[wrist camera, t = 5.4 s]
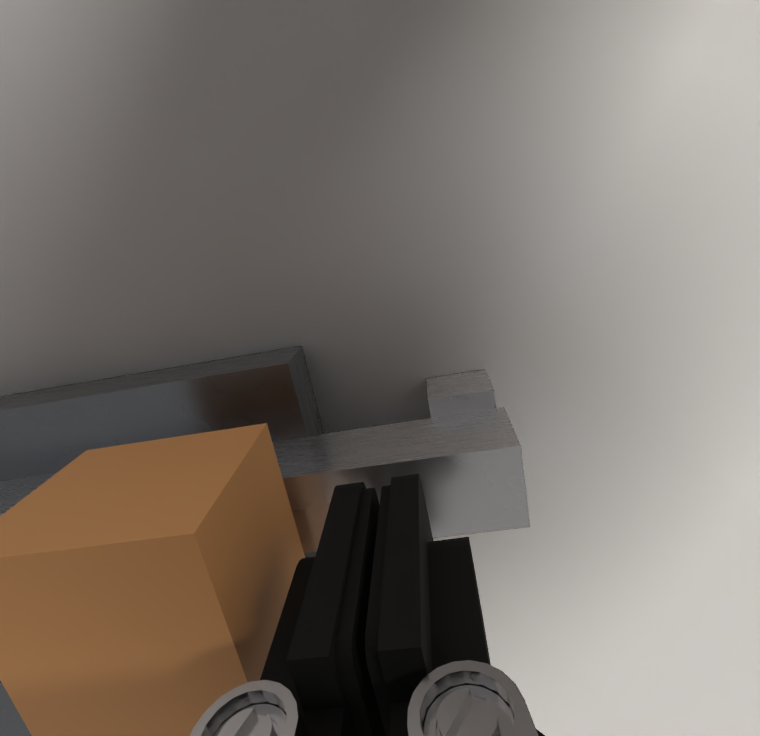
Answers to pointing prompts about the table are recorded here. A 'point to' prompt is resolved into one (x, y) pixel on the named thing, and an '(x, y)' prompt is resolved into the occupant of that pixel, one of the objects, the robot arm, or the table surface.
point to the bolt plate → (278, 442)
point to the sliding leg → (145, 583)
